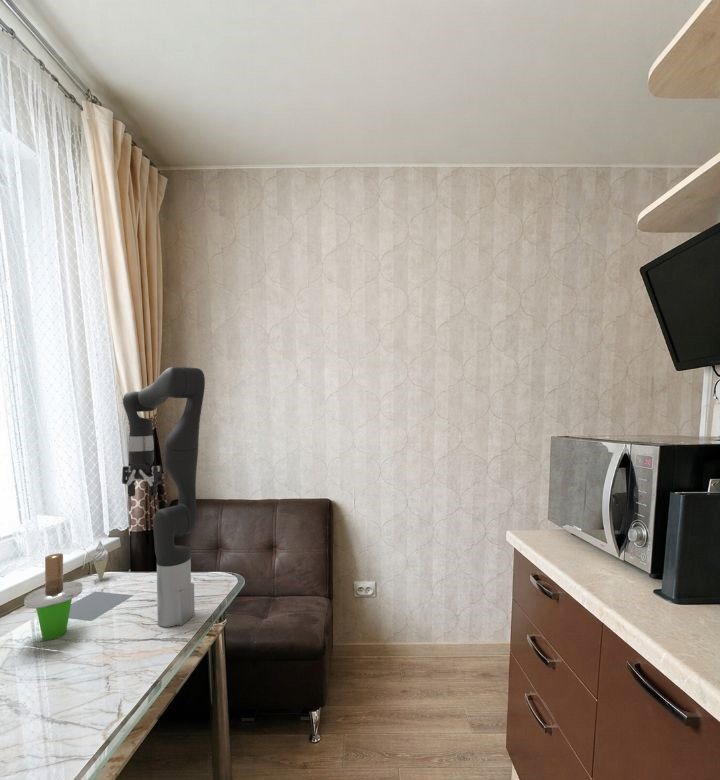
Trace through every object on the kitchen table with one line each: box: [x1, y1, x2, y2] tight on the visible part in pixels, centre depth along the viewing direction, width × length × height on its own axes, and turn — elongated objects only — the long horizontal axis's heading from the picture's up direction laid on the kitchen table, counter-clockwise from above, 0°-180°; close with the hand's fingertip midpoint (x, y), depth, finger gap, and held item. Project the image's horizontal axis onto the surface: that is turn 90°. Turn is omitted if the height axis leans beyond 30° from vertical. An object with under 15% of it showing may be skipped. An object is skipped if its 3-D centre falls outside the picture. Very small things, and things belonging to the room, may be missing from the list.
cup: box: [35, 598, 73, 641], centre depth 112 cm, size 9×9×11 cm
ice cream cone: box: [92, 540, 110, 581], centre depth 147 cm, size 5×5×15 cm
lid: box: [23, 552, 83, 609], centre depth 112 cm, size 13×13×11 cm
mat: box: [68, 590, 134, 622], centre depth 128 cm, size 16×16×1 cm
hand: (142, 496), depth 137 cm, fingers open, 8 cm apart
